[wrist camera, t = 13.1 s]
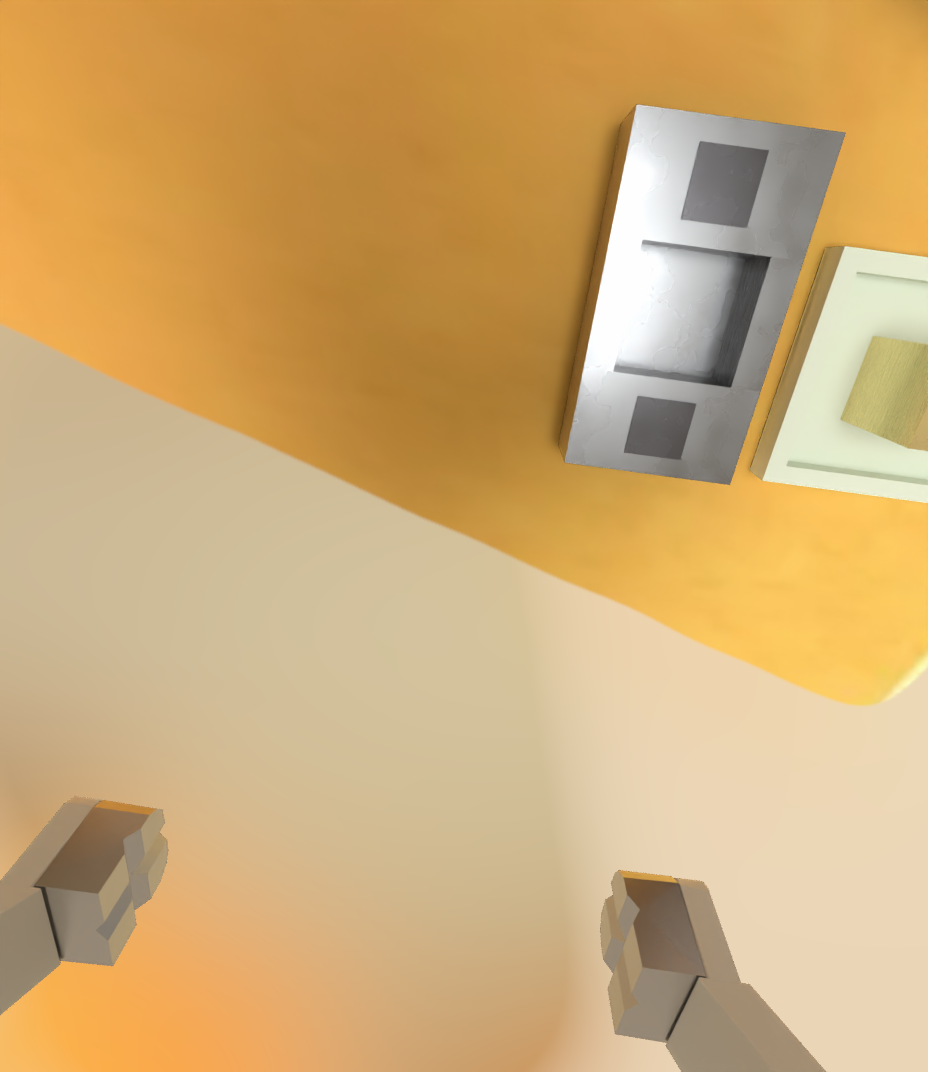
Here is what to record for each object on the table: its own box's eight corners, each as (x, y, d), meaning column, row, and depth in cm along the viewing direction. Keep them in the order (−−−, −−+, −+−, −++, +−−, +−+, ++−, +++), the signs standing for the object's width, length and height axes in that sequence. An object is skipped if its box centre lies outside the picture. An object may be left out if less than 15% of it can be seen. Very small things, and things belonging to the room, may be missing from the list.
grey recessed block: (620, 124, 28) (637, 103, 25) (805, 149, 28) (847, 132, 25) (558, 444, 35) (564, 463, 31) (708, 465, 35) (730, 485, 31)
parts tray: (825, 247, 30) (844, 246, 28) (1057, 279, 30) (1090, 279, 28) (749, 470, 35) (762, 480, 33) (948, 497, 35) (971, 508, 33)
